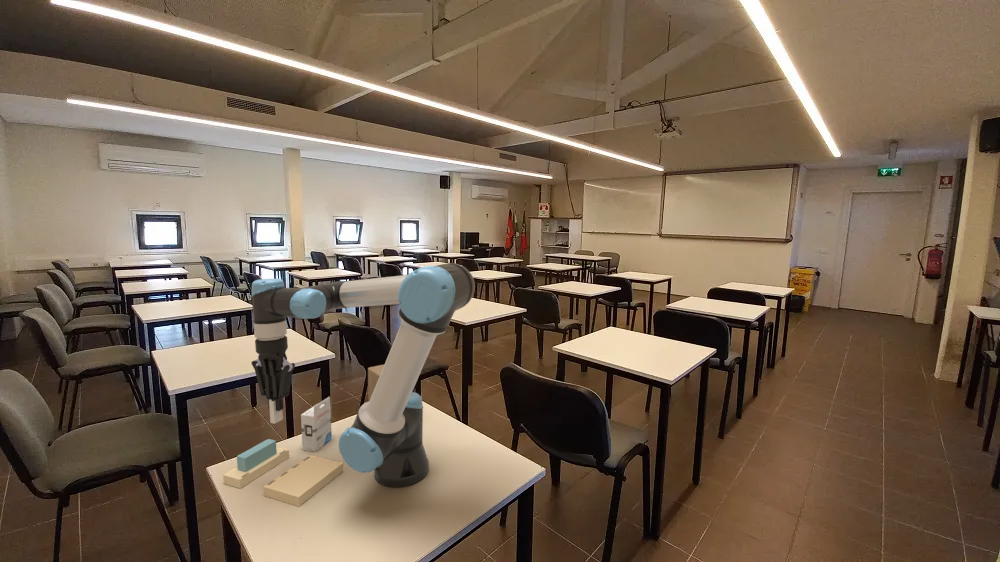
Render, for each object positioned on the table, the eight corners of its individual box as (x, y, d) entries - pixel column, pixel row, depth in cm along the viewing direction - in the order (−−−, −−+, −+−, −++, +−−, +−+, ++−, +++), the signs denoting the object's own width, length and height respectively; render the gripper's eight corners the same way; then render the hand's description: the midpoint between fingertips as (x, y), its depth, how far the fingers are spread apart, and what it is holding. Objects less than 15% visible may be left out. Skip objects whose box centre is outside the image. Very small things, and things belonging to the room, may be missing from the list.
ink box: (318, 436, 135) (317, 394, 133) (332, 438, 134) (331, 395, 133) (301, 450, 127) (299, 404, 125) (315, 452, 126) (314, 406, 124)
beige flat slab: (343, 471, 117) (342, 462, 116) (298, 506, 102) (298, 496, 101) (310, 462, 120) (310, 454, 120) (263, 495, 105) (263, 486, 105)
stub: (289, 457, 123) (288, 436, 122) (240, 488, 108) (238, 465, 107) (273, 453, 125) (272, 433, 124) (223, 483, 110) (222, 460, 109)
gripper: (301, 335, 111) (306, 418, 113) (264, 331, 115) (270, 412, 118) (278, 342, 104) (283, 431, 106) (240, 338, 108) (246, 423, 110)
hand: (276, 421), depth 112 cm, fingers closed
